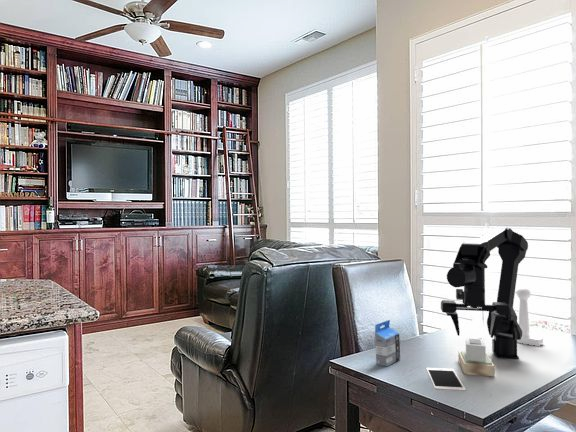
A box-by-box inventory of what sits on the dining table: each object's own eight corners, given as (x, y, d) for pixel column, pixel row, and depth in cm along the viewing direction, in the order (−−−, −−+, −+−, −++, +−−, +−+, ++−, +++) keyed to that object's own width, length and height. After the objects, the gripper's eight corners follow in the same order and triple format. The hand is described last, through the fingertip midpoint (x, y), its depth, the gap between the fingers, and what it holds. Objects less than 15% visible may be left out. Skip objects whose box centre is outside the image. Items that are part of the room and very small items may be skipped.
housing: (483, 353, 130) (483, 338, 130) (485, 362, 123) (485, 345, 123) (465, 352, 132) (465, 336, 132) (466, 360, 125) (466, 344, 125)
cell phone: (453, 370, 127) (453, 368, 127) (466, 392, 111) (466, 389, 111) (425, 369, 128) (425, 367, 128) (434, 390, 112) (434, 388, 112)
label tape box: (386, 367, 129) (386, 326, 129) (375, 364, 132) (374, 324, 132) (400, 360, 136) (400, 321, 136) (389, 357, 139) (388, 319, 139)
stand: (486, 362, 132) (486, 351, 132) (494, 376, 121) (494, 364, 121) (458, 360, 134) (458, 350, 134) (464, 374, 123) (464, 362, 123)
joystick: (505, 340, 157) (504, 285, 157) (514, 336, 162) (513, 283, 162) (538, 346, 148) (537, 289, 148) (546, 342, 153) (545, 286, 153)
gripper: (502, 281, 133) (502, 331, 133) (438, 279, 138) (439, 328, 138) (511, 286, 122) (511, 341, 122) (442, 284, 127) (442, 337, 127)
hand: (474, 336), depth 128 cm, fingers open, 9 cm apart
